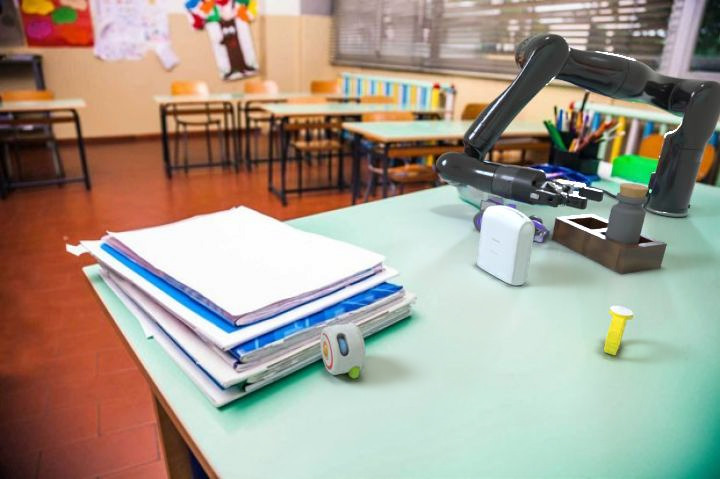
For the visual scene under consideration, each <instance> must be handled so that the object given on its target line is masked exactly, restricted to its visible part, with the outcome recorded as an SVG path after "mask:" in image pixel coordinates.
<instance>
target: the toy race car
mask: <svg viewBox="0 0 720 479" xmlns="http://www.w3.org/2000/svg"><path fill="white" fill-rule="evenodd" d="M504 202H505V200H504V198H502V197H499V196H497V197H496V196H493V195H488V196H487V199H486V200H484V199H480V206H479V207H480V208H479V211H478V212H477V213H475V214H474V216H473V219H472V222H473V223H472V224H473V226H474V228H475V229H476V230H477V231H479V232H481V224H482V217H483V214H484V211H485V210H486V209H487V208H488V207H490V206H496V205H502V206H508V207H511V208H514V209H516V210H517V205H516V204H515V203H508V204H506V205H505V204H504ZM527 217H528V218H529V219H530V220H531V221H532V222H533V223H534V226H535V232H534V238H533V242H537V243H543V240H544V237H545V236H546V235H550V233H551V230H550V229H548V228H546V226H544V225H543V224H544V222H543V220H542V218H541V217H540V216H538V215H536V214H533V215H529V216H527ZM537 232H539V233H540V234H539V235H537V234H536V233H537Z"/></svg>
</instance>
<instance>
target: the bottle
mask: <svg viewBox="0 0 720 479" xmlns="http://www.w3.org/2000/svg"><path fill="white" fill-rule="evenodd" d="M648 189H649V188H648V186H646V185H643V184H639V183H631V182H623V183H620V184H619V192H617V193H616V198H615V199H616V200H617V201H618V202H617V203H614V204H613V205H612V206H611V208H610V212H609V215H608V219H607V220H608V225H607V229H606V233H605V236H606V237H608V238H611V239H613V240H615V241H618V242H620V243H622V244H625V245H634V244H638V242H639V239H640V235H641V234H642V230H643V226H644V223H645V218H646V214H647V210H646V209H645V208H643V204H645V203H646V202H647V197H646V196H645V195H646V193H647V191H648Z"/></svg>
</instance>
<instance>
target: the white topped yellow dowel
mask: <svg viewBox="0 0 720 479" xmlns="http://www.w3.org/2000/svg"><path fill="white" fill-rule="evenodd" d="M608 313H609V315H610V316H612V318H611V322H610V324H609V328H608V330H607V334H606V338H605V342H604V347H603V352H604V353H606V354H609V355H612V356H616V354H617V352H618V350H619V348H620V345H621V342H622V339H623V335H624V332H625V328H626V324H627V321H630V320H632V319H633V317H634V312H633V311H632V310H631V309H629V308H627V307H624V306H621V305H612V306H609V311H608Z"/></svg>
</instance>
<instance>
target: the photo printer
mask: <svg viewBox="0 0 720 479" xmlns="http://www.w3.org/2000/svg"><path fill="white" fill-rule="evenodd" d="M528 217H529V216H527V215H526V214H525V213H524V212H522V211H520V210H518V209H517V208H516V209H514V208H511V207H508V206H506V205H504V206H502V205H496V206H490V207H488V208H487V209H486V210H485V211H484V214H483V217H482V224H481V232H480V231H479V232H480V234H479V242H478V248H477V258H476V265H477V266H478V268H480V269H482V270H483V271H485V272H486V273H489V274H490V275H492V276H494V277H495V278H497V279H499V280H501V281H502V282H505V283H506V284H508V285H512V286H521V285H524V284H525V282H526V281H527V280H528V274H529V268H530V262H531V257H532V250H533V243H534V241H533V238H534V232H535V226H534V223H533V222H532V221H531V220H530V219H529V218H528ZM535 233H536V232H535Z"/></svg>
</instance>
